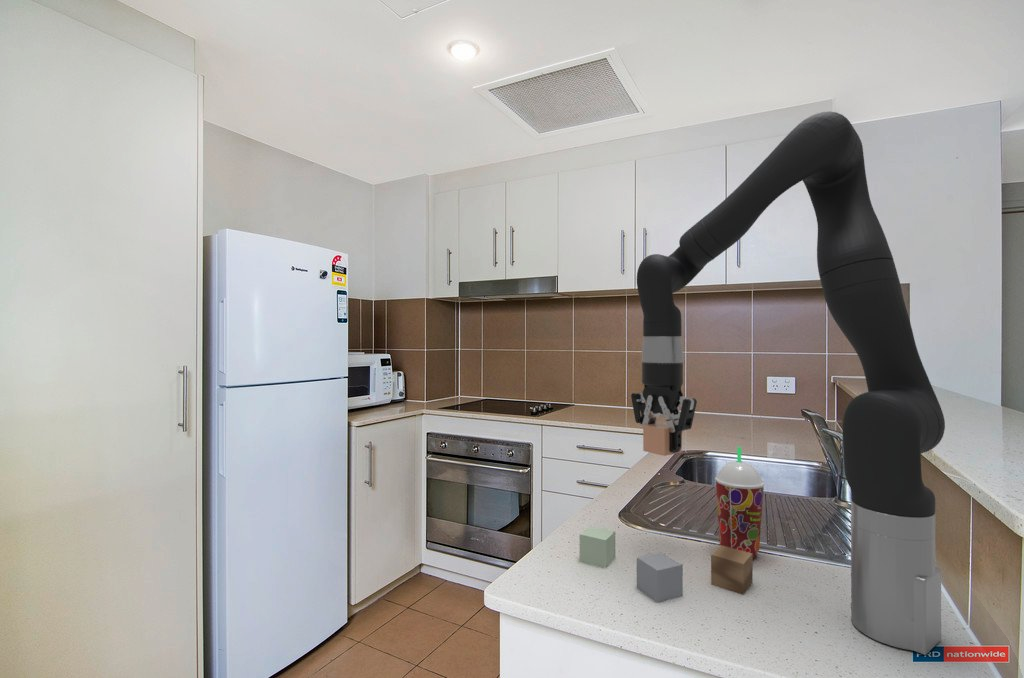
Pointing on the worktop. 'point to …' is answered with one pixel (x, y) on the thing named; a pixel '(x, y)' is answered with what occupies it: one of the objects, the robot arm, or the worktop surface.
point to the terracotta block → (657, 439)
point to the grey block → (659, 577)
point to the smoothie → (739, 505)
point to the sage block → (597, 546)
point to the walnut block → (732, 569)
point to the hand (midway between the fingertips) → (662, 448)
